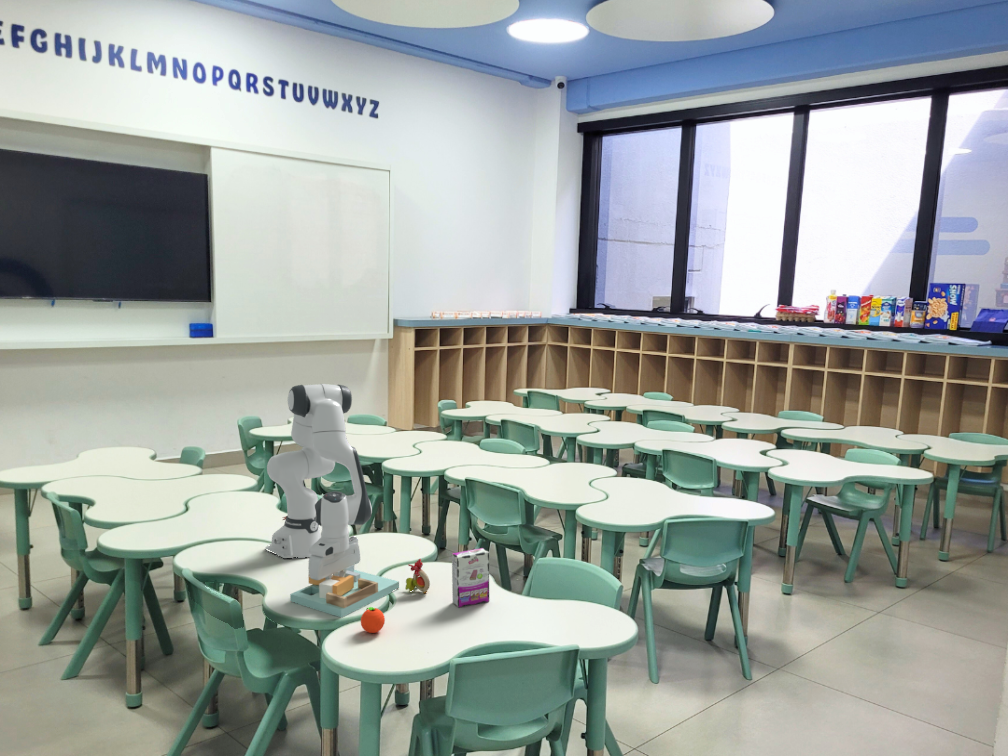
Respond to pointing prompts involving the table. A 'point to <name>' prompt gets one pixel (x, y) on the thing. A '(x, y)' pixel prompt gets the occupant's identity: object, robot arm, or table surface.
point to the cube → (326, 587)
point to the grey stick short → (347, 569)
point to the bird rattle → (418, 578)
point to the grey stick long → (356, 575)
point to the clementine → (372, 620)
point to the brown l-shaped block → (353, 594)
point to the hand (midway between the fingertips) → (335, 584)
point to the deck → (312, 600)
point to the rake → (338, 584)
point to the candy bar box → (470, 577)
